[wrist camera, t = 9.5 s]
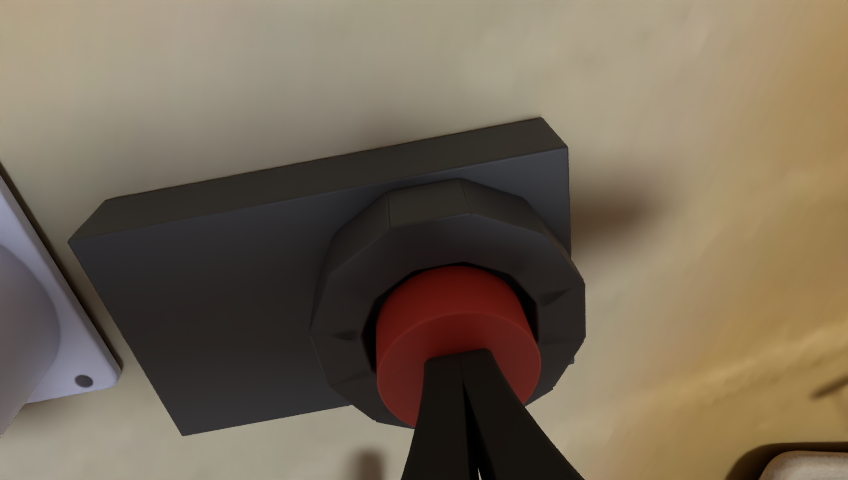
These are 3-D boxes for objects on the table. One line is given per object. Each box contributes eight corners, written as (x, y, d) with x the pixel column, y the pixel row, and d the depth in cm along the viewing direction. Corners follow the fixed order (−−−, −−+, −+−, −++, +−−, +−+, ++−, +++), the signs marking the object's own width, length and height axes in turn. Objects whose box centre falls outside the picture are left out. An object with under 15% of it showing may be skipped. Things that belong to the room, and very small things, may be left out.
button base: (201, 383, 18) (162, 491, 15) (104, 199, 15) (23, 285, 11) (553, 318, 18) (596, 411, 15) (542, 116, 15) (597, 177, 11)
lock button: (391, 391, 14) (394, 446, 13) (361, 280, 12) (360, 330, 11) (526, 365, 14) (545, 419, 13) (516, 251, 12) (537, 297, 11)
